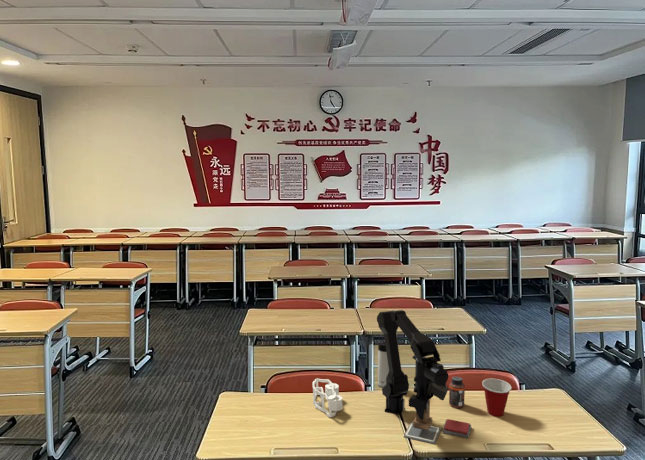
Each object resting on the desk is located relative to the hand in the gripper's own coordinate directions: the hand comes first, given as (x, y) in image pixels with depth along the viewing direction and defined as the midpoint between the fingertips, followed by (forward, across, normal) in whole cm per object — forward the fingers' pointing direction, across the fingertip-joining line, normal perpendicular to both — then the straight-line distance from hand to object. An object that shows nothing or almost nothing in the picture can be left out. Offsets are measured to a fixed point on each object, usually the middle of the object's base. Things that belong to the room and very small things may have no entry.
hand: (422, 416), depth 164 cm
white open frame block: (+7, +6, +40) cm, 41 cm away
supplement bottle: (+6, +27, -8) cm, 29 cm away
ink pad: (+6, +7, -11) cm, 14 cm away
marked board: (+6, 0, 0) cm, 6 cm away
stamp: (+4, 0, 0) cm, 4 cm away
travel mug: (+6, +33, +24) cm, 41 cm away
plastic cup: (+6, +26, -23) cm, 35 cm away
